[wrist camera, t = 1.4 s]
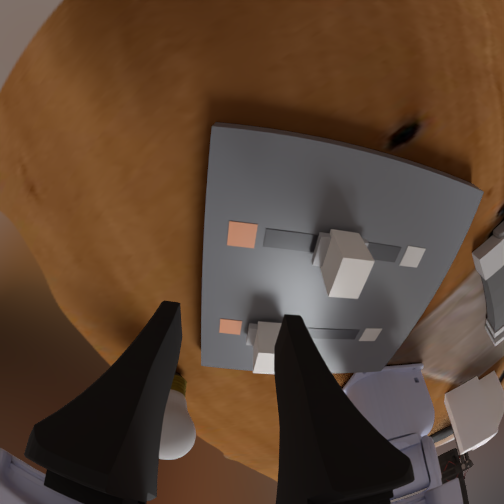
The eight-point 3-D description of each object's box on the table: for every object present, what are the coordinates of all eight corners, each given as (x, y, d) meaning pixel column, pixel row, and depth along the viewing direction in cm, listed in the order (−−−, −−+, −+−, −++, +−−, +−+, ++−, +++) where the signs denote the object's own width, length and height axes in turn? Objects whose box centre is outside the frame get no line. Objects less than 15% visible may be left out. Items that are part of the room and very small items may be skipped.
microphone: (416, 441, 52) (432, 531, 28) (460, 418, 47) (482, 510, 22) (425, 444, 58) (440, 522, 34) (463, 425, 53) (482, 503, 28)
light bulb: (155, 352, 26) (133, 443, 17) (210, 370, 27) (201, 461, 19) (145, 376, 29) (127, 453, 20) (193, 391, 30) (183, 468, 22)
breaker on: (290, 323, 20) (294, 354, 18) (283, 345, 22) (285, 374, 19) (249, 320, 20) (249, 351, 18) (245, 342, 21) (244, 372, 19)
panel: (471, 183, 15) (484, 192, 14) (377, 360, 26) (380, 371, 25) (215, 122, 14) (211, 126, 13) (203, 352, 25) (201, 366, 24)
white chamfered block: (445, 393, 35) (463, 451, 25) (497, 362, 31) (520, 416, 21) (443, 409, 40) (457, 458, 30) (488, 383, 36) (506, 429, 27)
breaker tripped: (367, 234, 16) (384, 262, 14) (354, 269, 17) (366, 299, 15) (320, 227, 16) (331, 256, 13) (310, 264, 17) (317, 296, 15)
